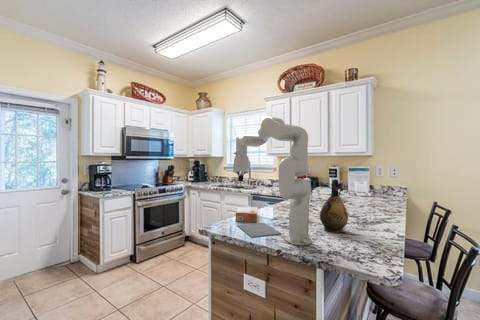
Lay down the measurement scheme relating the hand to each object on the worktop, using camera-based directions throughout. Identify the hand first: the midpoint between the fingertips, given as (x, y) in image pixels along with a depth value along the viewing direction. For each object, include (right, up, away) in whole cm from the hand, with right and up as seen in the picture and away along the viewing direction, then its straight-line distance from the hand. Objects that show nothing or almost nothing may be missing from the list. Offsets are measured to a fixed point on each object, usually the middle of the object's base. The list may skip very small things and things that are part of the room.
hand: (240, 181), depth 159 cm
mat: (+10, -26, -22) cm, 36 cm away
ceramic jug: (+55, -27, -19) cm, 64 cm away
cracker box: (+3, -23, -6) cm, 24 cm away
